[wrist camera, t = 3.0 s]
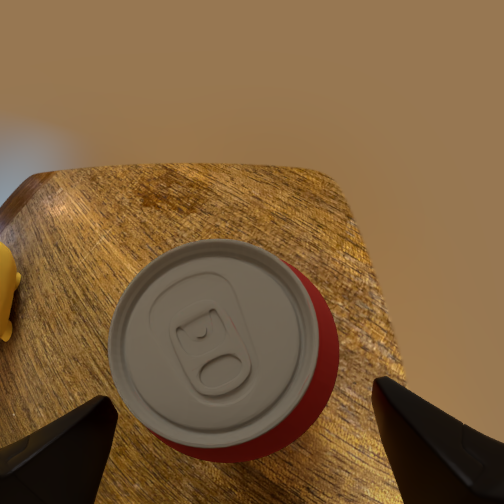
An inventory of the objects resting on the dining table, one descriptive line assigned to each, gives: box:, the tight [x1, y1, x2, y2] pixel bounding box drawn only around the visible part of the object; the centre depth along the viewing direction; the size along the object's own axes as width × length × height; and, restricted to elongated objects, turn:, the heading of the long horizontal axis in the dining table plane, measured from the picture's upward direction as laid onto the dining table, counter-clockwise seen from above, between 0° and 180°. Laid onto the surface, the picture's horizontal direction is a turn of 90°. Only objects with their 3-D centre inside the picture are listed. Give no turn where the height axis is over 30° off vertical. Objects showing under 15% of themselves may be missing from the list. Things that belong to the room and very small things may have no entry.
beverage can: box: [108, 239, 339, 463], centre depth 11 cm, size 7×7×12 cm
